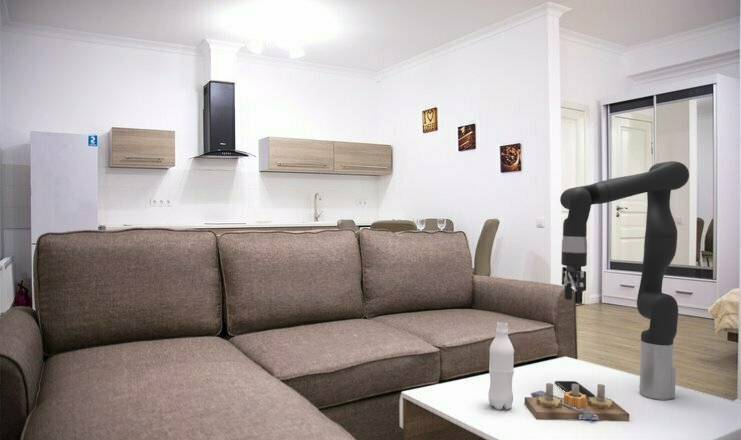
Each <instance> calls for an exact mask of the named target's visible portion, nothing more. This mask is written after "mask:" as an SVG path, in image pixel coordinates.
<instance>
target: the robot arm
mask: <svg viewBox="0 0 741 440" xmlns="http://www.w3.org/2000/svg"><path fill="white" fill-rule="evenodd" d="M689 179H690V172H689V168H688V167H687V166H686V165H685V164H684V163H682V162H679V161H673V160H671V161H663V162H659V163H655V164H653V165H652V166H651V167H650V168H649V169H648V171H646V172H642V173H637V174H632V175H626V176H619V177H614V178H609V179H606V180H605V179H604V180H602V181H598V182H595V183H592V184H587V185H582V186H575V187H571V188H568V189H566V190H563V192H562V193H561V195H560V198H559V202H560V204H561V206H562V207H563V208H564V209H566V210H568V214H567V217H566V218H565V219H564V220H563V222H562V223H563V225H562V240H561V259H560V260H561V265H562V268H561V269H562V270H561V285H562V286H563V288H564V294H563V295H564V300H567V301H568V300H570V301H571V300H574V301H573V302H574V304H575V305H582V304H583V293H584V292H586V291H587V271H585V270H582V267H586V266H587V265H588V262H587V261H588V260H587V259H588V239H587V235H588V234H587V229H588V227H587V224H588V220H589V217H590V212H591V208H592V205H601V204H606V203H610V202H615V201H618V200H623V199H625V198H628V197H629V198H630V197H634V196H637V195H641V194H645V193H646V195H647V197H646V199H647V201H646V202H647V207H646V222H645V232H644V242H643V243H644V244H643V259H642V267H641V268H642V269H641V277H640V283H639V286H638V292H637V297H636V308H637V311H638V313H639V314H640V316H641V317H643V318H645V319H648V320H649V328H648V329H646V330H643V331H641V333H640V356H639V357H640V362H639V363H640V364H639V365H640V366H639V367H640V368H639V394H640V395H642V396H643V397H646V398H649V399H653V400H659V401H660V400H661V401H662V400H663V401H666V400H671V399H675V398H676V377H677V376H676V372H677V371H676V370H677V369H676V368H675V367H674V340H675V337H676V336H677V331H678V321H679V320H678V319H679V306H678V302H677V299H676V298H675V297H674V296H672V295H671V294H669V293H668V294H667V293H664V292H662V291H663V290H662V289H663V281H664V277H665V273H666V272H667V270H668V268H669V266H670V265H671V263H672V261H673V260H674V259H675V256H676V253H677V249H678V248H677V247H678V229H677V225H676V221H675V220H674V217H673V214H672V210H671V193H672V191H675V190H679V189H681V188H683V187H684V186H685V185H686V184H687V183H688V181H689ZM573 289H574V299H573Z"/></svg>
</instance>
